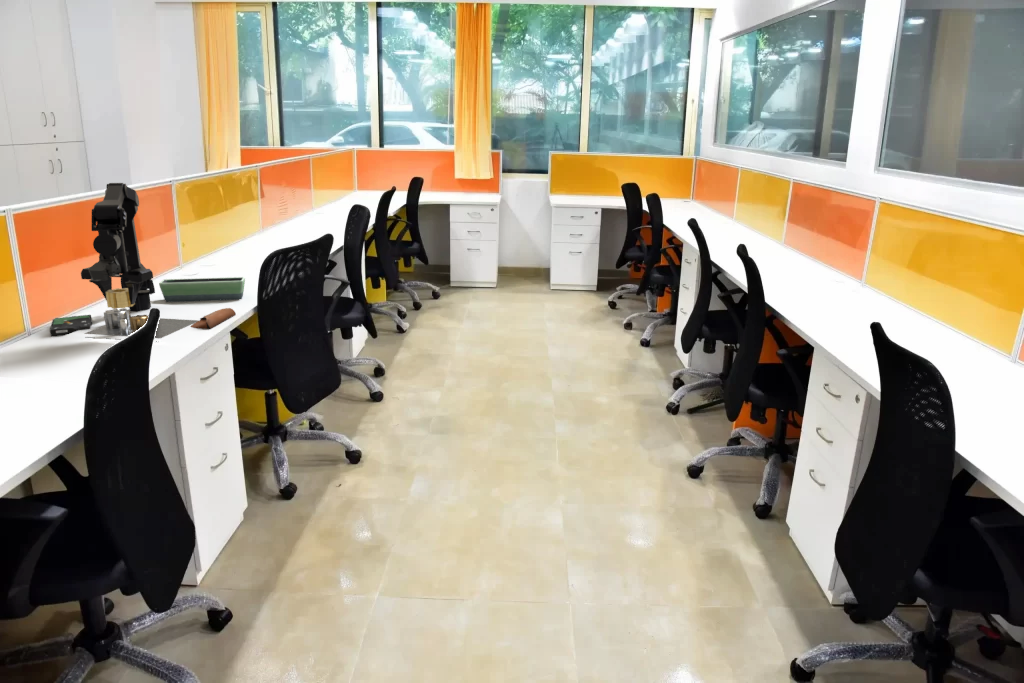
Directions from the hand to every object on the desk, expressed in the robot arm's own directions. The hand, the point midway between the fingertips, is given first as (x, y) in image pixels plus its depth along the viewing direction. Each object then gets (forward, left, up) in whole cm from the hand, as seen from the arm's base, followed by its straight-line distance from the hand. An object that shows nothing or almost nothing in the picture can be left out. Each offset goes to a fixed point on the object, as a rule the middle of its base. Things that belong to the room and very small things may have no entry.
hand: (121, 303), depth 208 cm
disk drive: (-5, -21, -11) cm, 24 cm away
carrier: (-7, +1, -10) cm, 12 cm away
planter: (-48, -4, -10) cm, 50 cm away
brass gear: (0, 0, -1) cm, 1 cm away
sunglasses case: (-17, +17, -11) cm, 26 cm away
